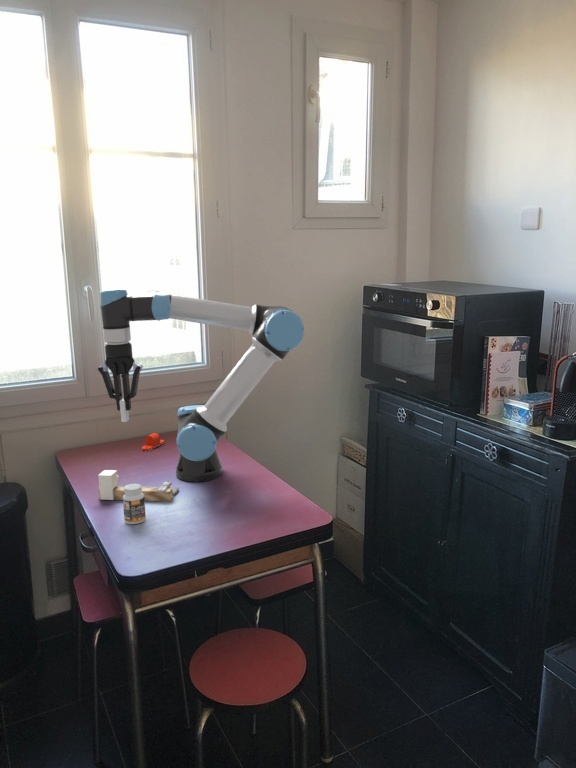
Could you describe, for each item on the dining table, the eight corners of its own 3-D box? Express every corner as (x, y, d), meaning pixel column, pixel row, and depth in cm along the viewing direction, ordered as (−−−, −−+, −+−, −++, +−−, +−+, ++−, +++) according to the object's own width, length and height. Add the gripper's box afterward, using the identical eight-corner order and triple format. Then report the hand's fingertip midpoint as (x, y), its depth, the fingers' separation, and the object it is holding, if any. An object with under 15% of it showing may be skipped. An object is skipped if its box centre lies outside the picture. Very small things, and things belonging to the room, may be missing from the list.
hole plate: (178, 490, 193) (178, 487, 192) (174, 496, 188) (174, 492, 188) (110, 488, 195) (110, 485, 195) (104, 494, 191) (104, 490, 191)
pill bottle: (135, 526, 168) (132, 492, 166) (120, 522, 171) (117, 488, 169) (150, 518, 173) (147, 485, 170) (135, 514, 176) (132, 481, 174)
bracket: (148, 452, 231) (147, 439, 230) (139, 451, 233) (138, 438, 232) (166, 443, 241) (165, 430, 240) (158, 442, 243) (157, 429, 242)
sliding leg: (123, 490, 193) (121, 466, 191) (113, 499, 186) (111, 475, 184) (110, 489, 194) (108, 466, 192) (100, 499, 186) (98, 475, 185)
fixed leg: (172, 488, 191) (171, 481, 190) (164, 497, 184) (163, 490, 183) (165, 488, 191) (165, 481, 191) (158, 497, 184) (157, 490, 184)
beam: (172, 498, 187) (172, 488, 186) (170, 501, 184) (169, 491, 184) (102, 495, 190) (102, 486, 189) (99, 499, 187) (98, 489, 187)
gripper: (143, 340, 184) (150, 417, 189) (100, 341, 185) (108, 417, 190) (135, 343, 177) (142, 424, 182) (91, 345, 178) (99, 424, 183)
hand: (125, 420), depth 186 cm, fingers closed
